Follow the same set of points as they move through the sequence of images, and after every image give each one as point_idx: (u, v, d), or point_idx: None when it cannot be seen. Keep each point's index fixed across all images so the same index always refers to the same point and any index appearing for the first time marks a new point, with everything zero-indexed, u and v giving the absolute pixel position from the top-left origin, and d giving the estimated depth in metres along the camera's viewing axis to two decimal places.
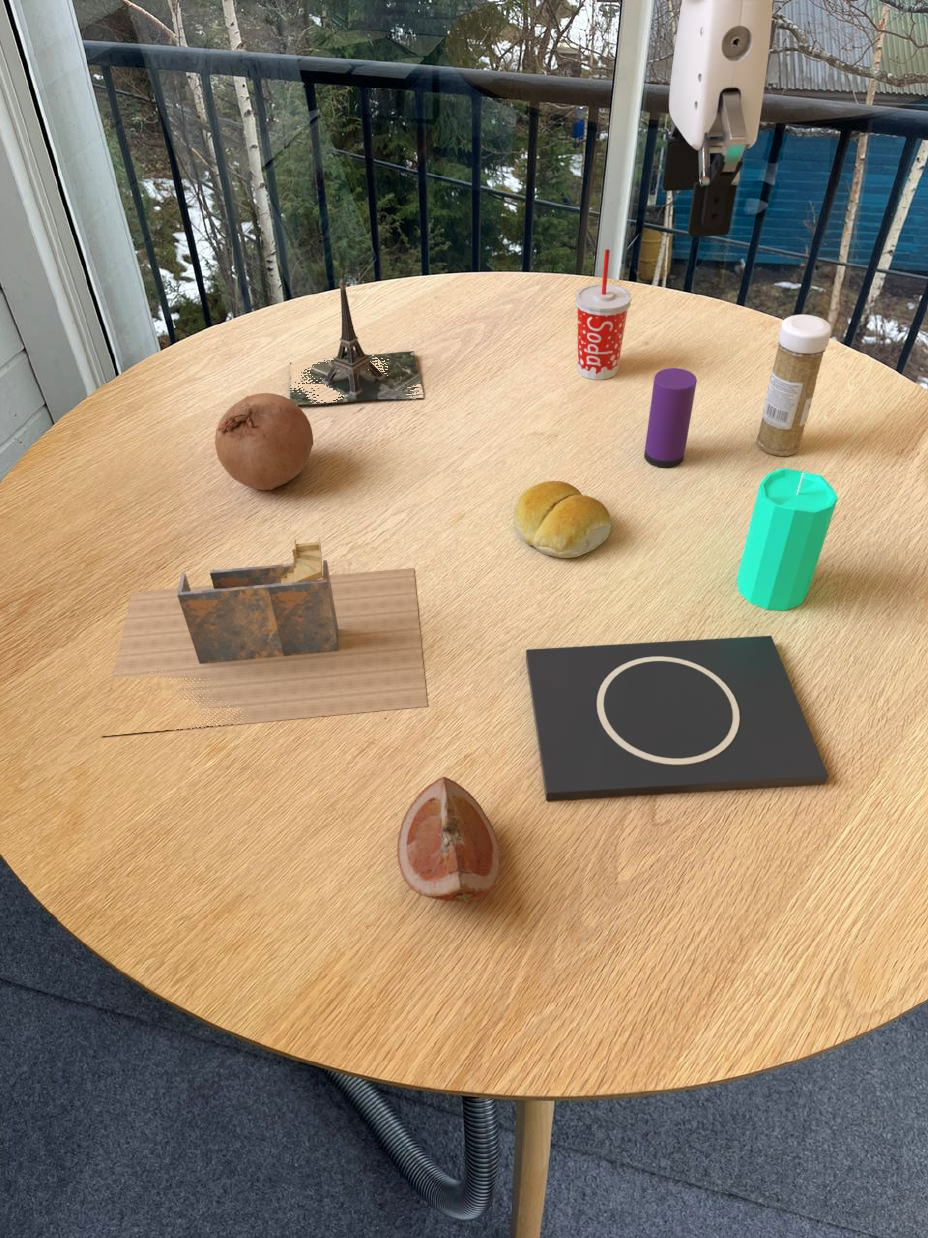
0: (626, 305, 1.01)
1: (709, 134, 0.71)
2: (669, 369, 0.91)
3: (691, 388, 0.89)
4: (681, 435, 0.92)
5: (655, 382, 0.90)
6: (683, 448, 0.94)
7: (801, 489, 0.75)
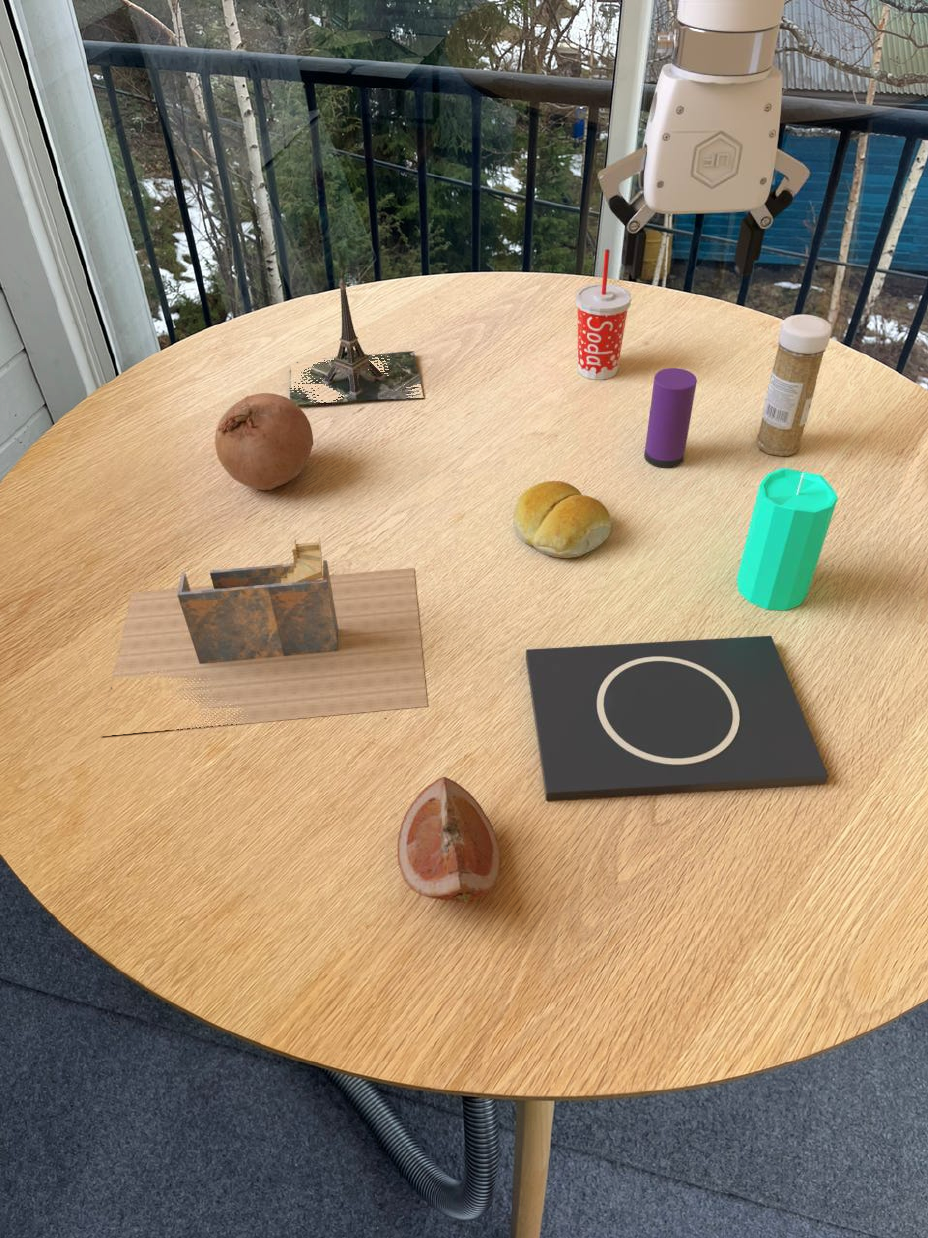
0: (626, 305, 1.01)
1: None
2: (669, 369, 0.91)
3: (691, 388, 0.89)
4: (681, 435, 0.92)
5: (655, 382, 0.90)
6: (683, 448, 0.94)
7: (801, 489, 0.75)
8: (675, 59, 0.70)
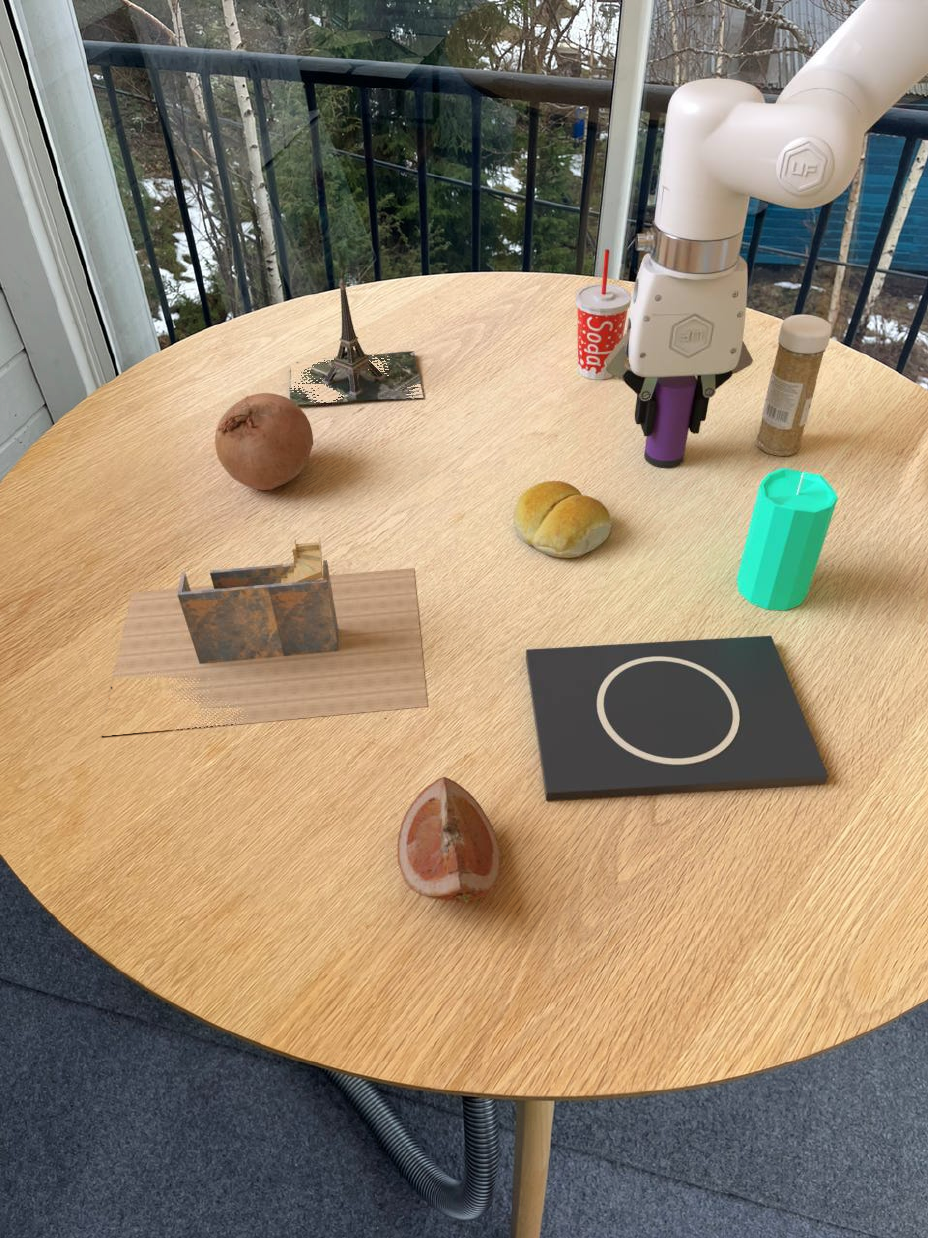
0: (626, 305, 1.01)
1: None
2: None
3: (691, 388, 0.89)
4: (681, 435, 0.92)
5: None
6: (683, 448, 0.94)
7: (801, 489, 0.75)
8: (653, 255, 0.81)
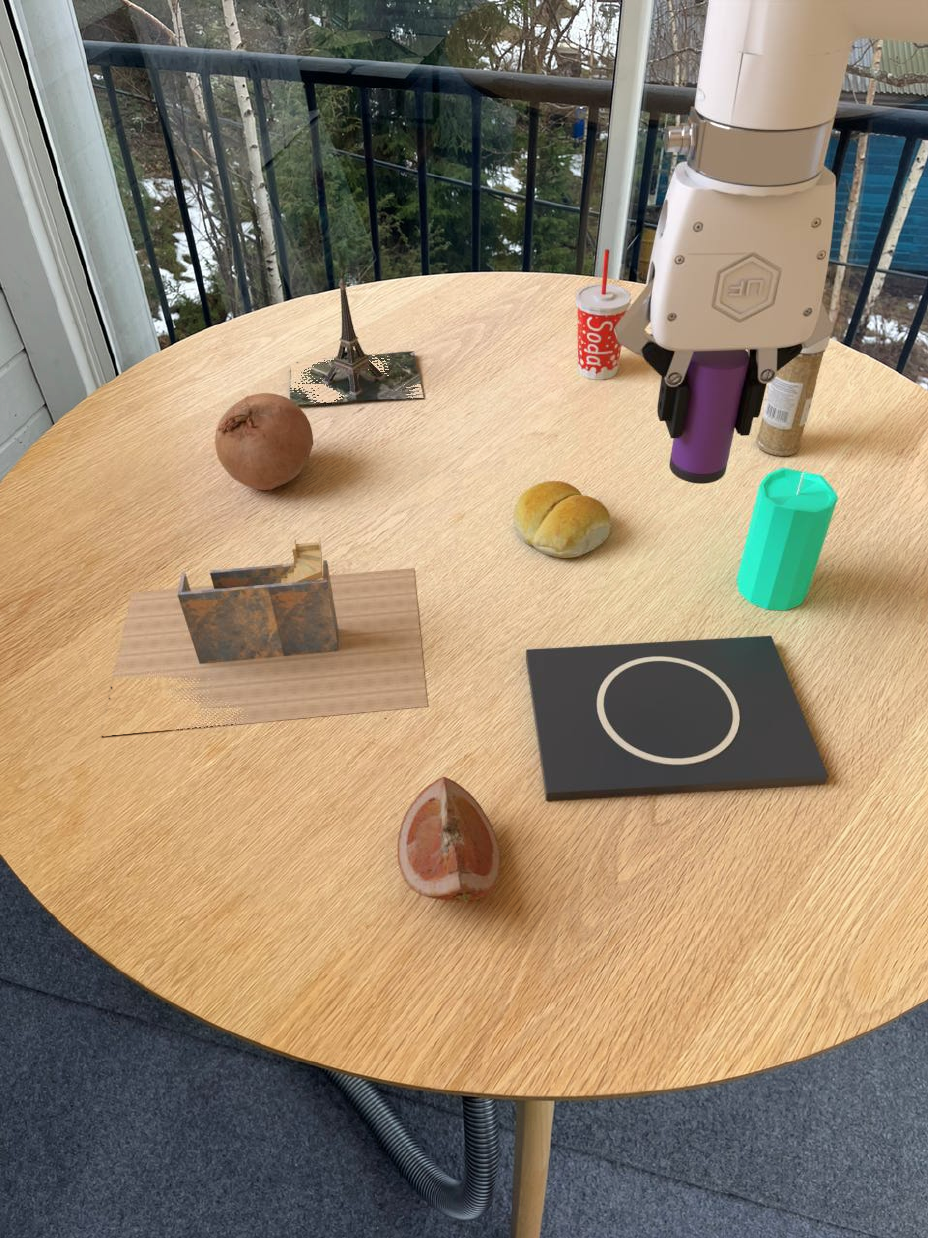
0: (626, 305, 1.01)
1: None
2: None
3: (742, 369, 0.61)
4: (723, 437, 0.64)
5: None
6: (726, 456, 0.66)
7: (801, 489, 0.75)
8: (692, 161, 0.52)
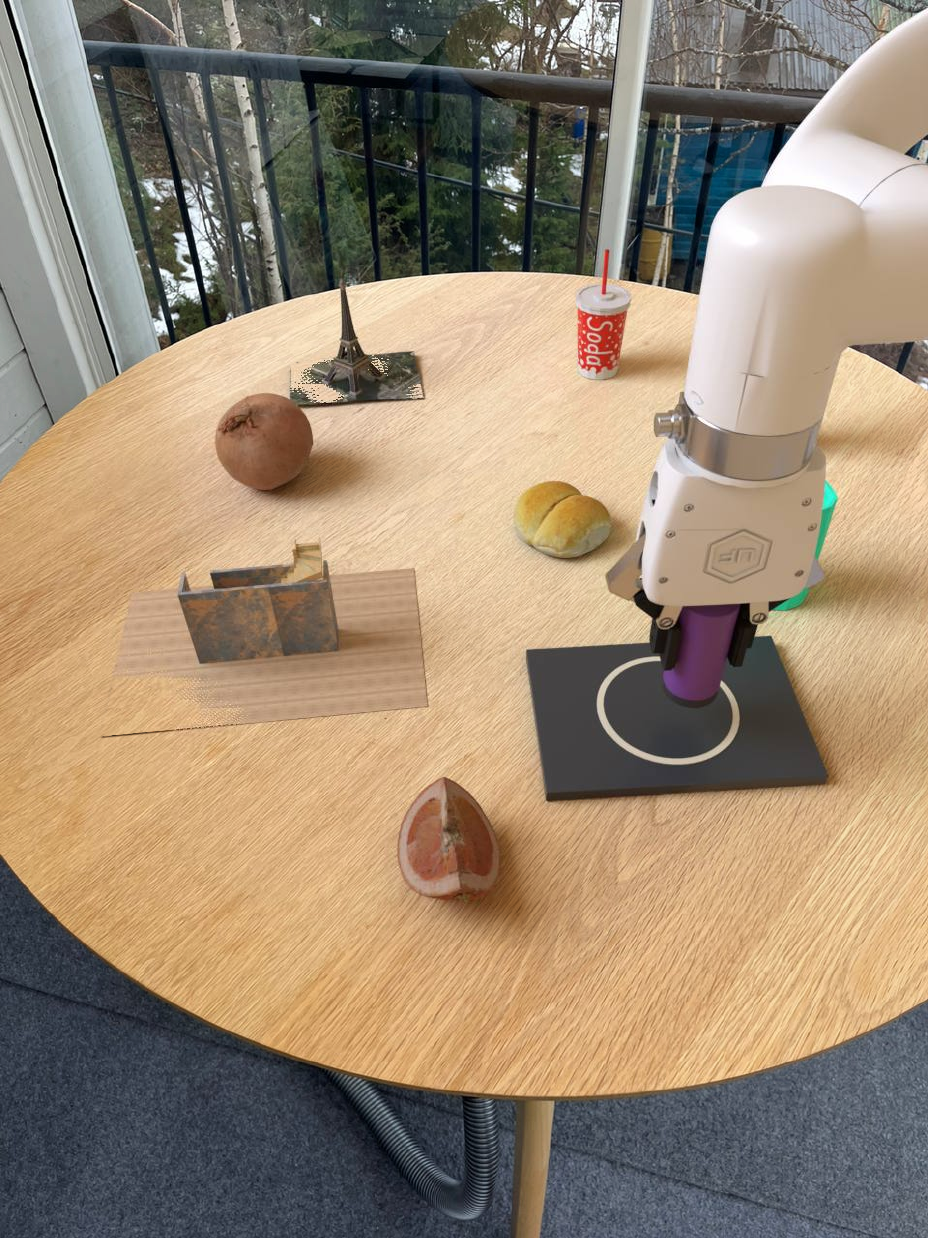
0: (626, 305, 1.01)
1: None
2: None
3: (734, 614, 0.61)
4: (716, 670, 0.64)
5: None
6: (718, 683, 0.65)
7: None
8: (682, 445, 0.52)
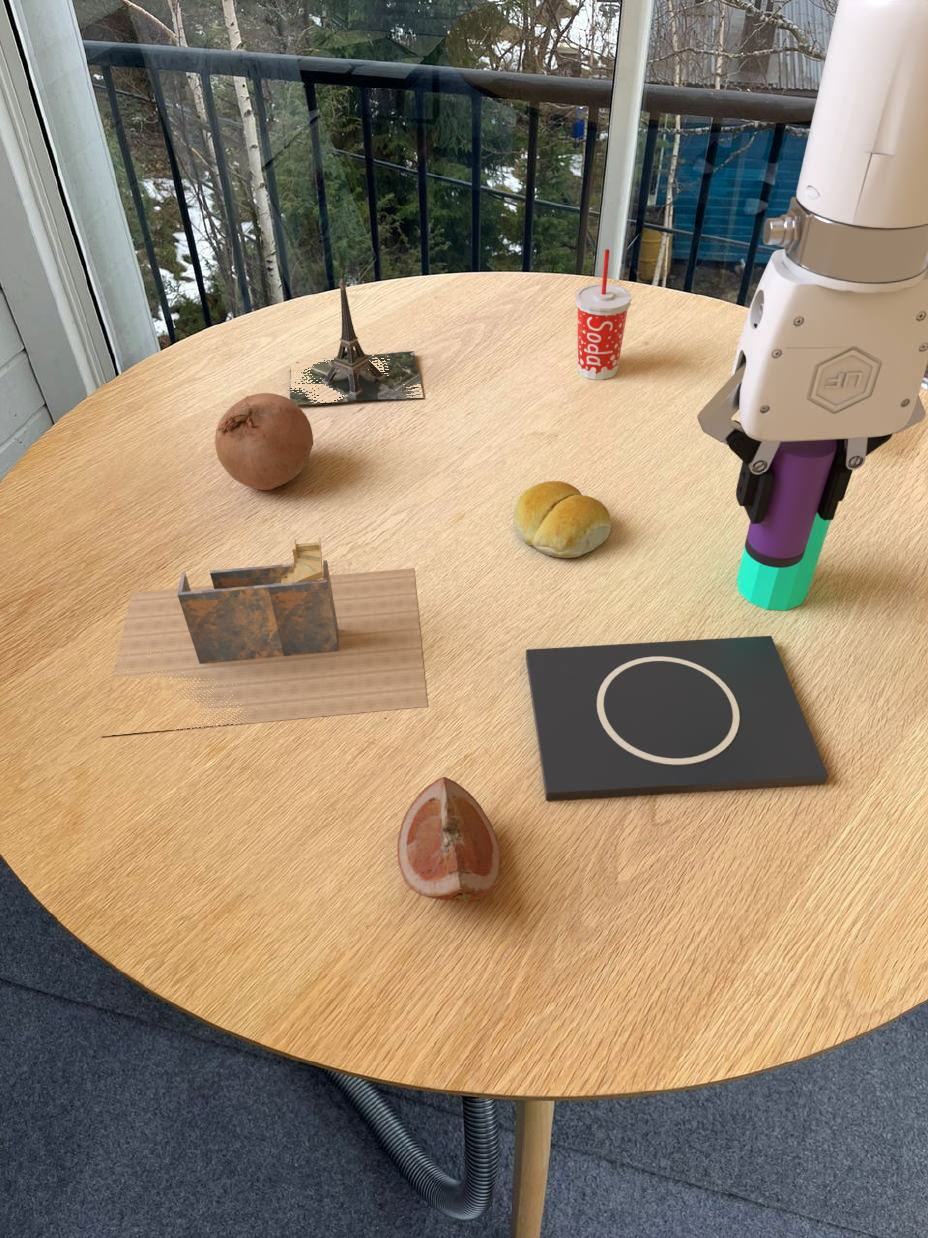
0: (626, 305, 1.01)
1: None
2: None
3: (830, 456, 0.58)
4: (806, 523, 0.62)
5: None
6: (807, 540, 0.63)
7: None
8: (793, 253, 0.50)
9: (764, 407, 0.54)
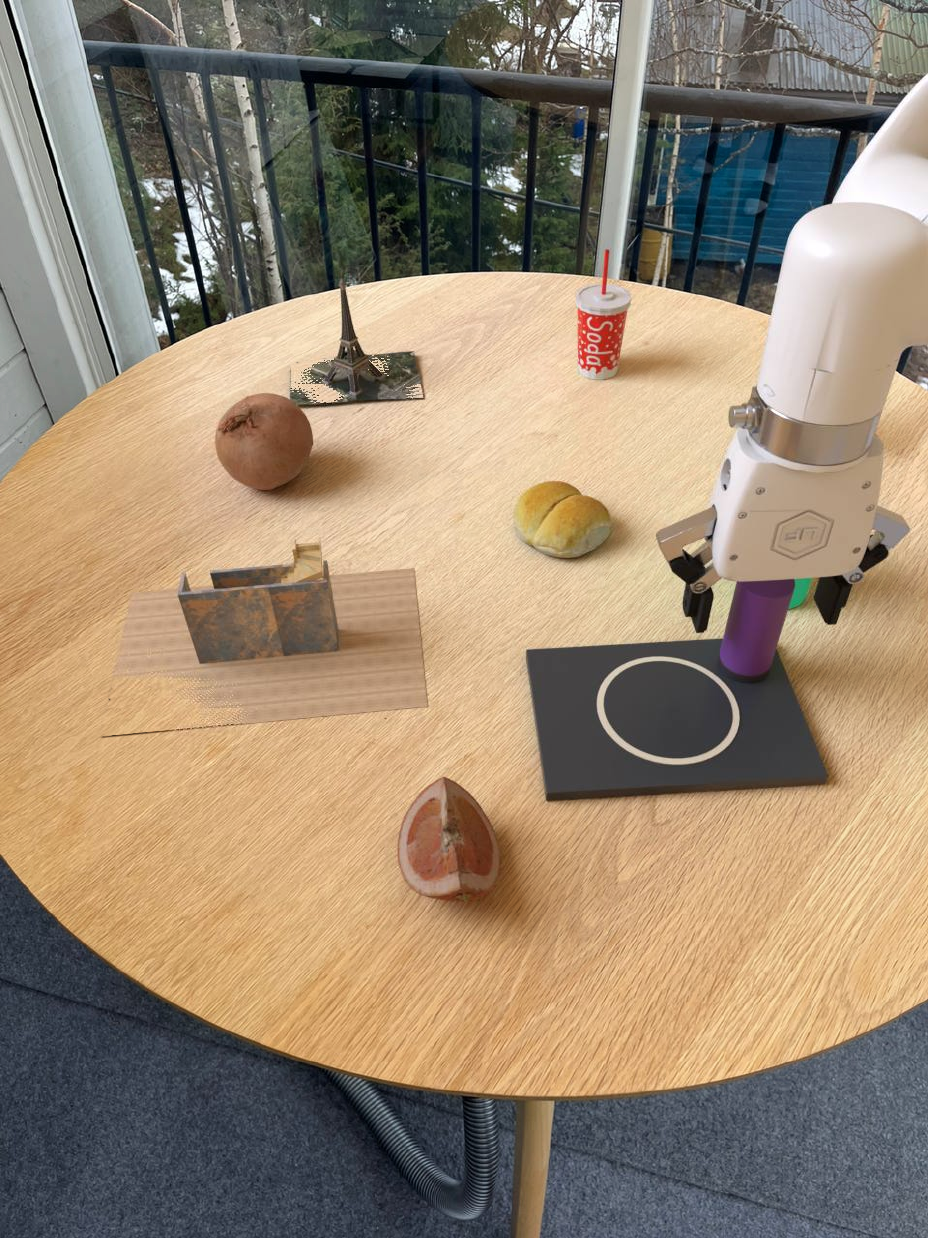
0: (626, 305, 1.01)
1: None
2: None
3: (789, 596, 0.67)
4: (770, 647, 0.70)
5: (739, 585, 0.68)
6: (771, 660, 0.72)
7: None
8: (754, 435, 0.58)
9: (733, 555, 0.62)
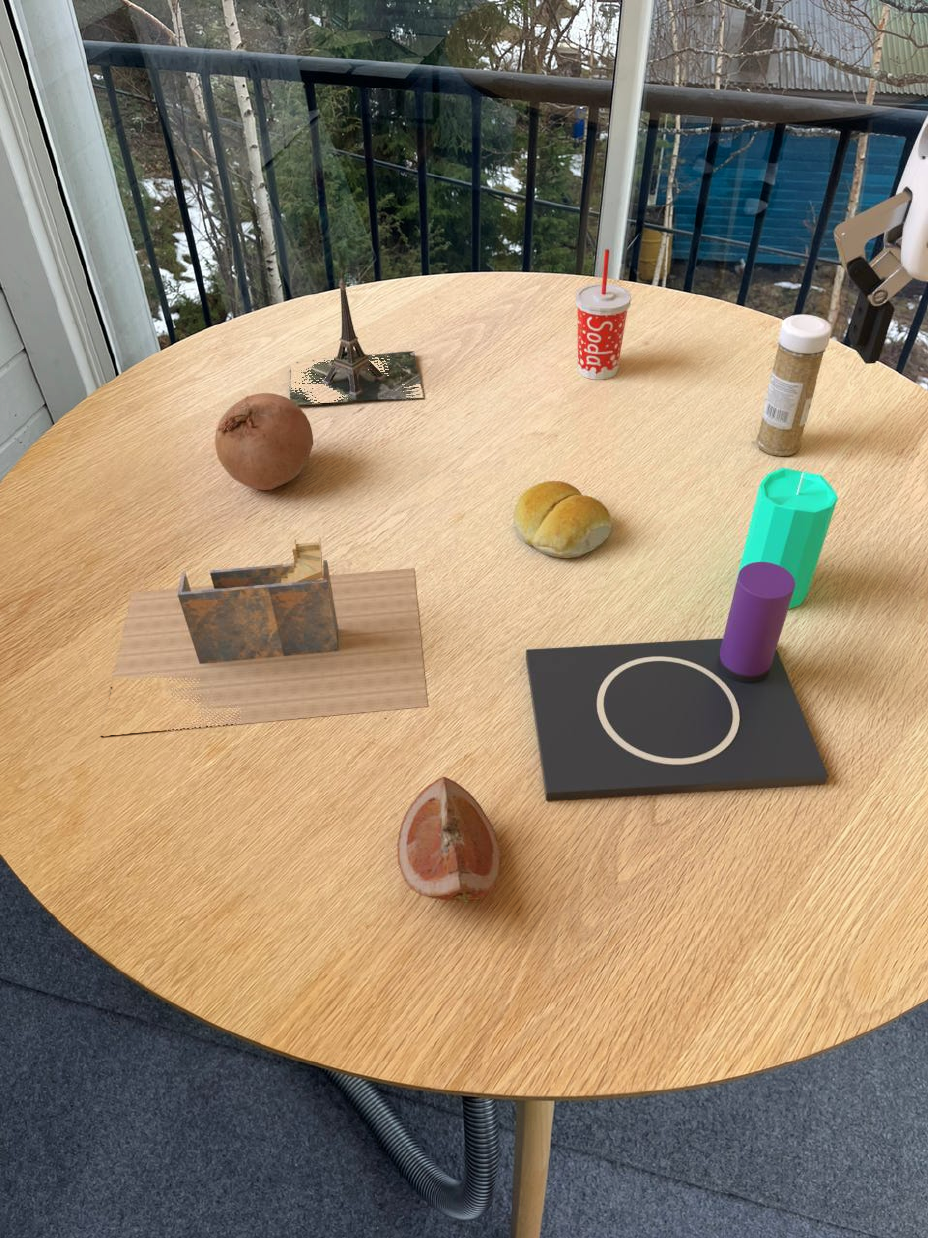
0: (626, 305, 1.01)
1: None
2: (756, 564, 0.69)
3: (789, 596, 0.67)
4: (770, 647, 0.70)
5: (739, 585, 0.68)
6: (771, 660, 0.72)
7: (801, 489, 0.75)
8: None
9: None
